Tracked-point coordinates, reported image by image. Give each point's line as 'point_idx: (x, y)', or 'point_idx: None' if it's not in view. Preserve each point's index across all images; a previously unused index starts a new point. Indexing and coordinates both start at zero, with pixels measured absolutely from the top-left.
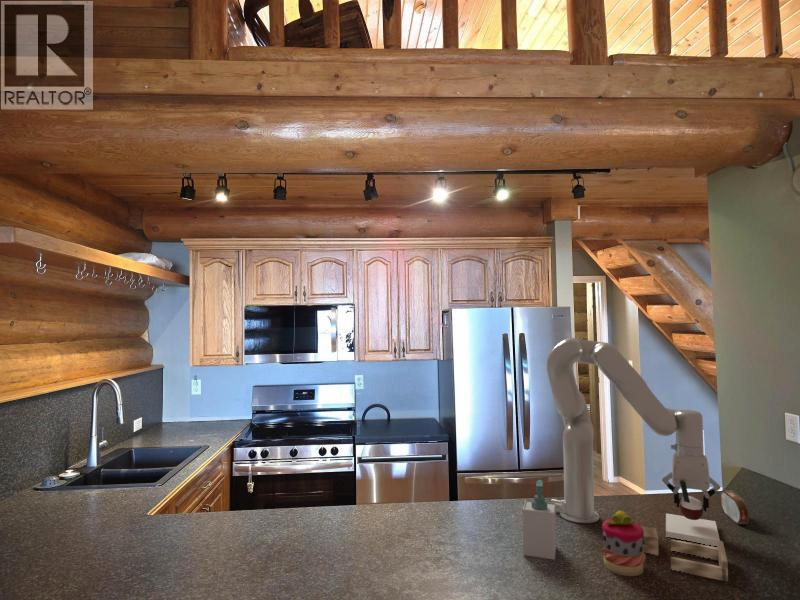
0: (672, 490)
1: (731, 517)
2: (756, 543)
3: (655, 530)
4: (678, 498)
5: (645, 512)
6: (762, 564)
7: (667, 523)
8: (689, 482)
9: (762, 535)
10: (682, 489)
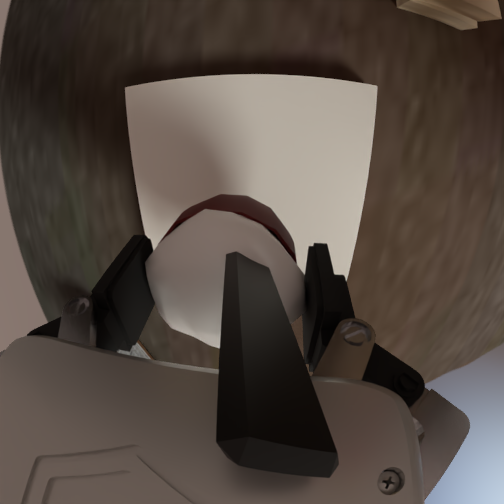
0: (373, 352)
1: (142, 351)
2: (58, 204)
3: None
4: (319, 289)
5: (390, 323)
6: (41, 40)
7: (356, 199)
8: (157, 446)
9: (65, 271)
10: (288, 339)
